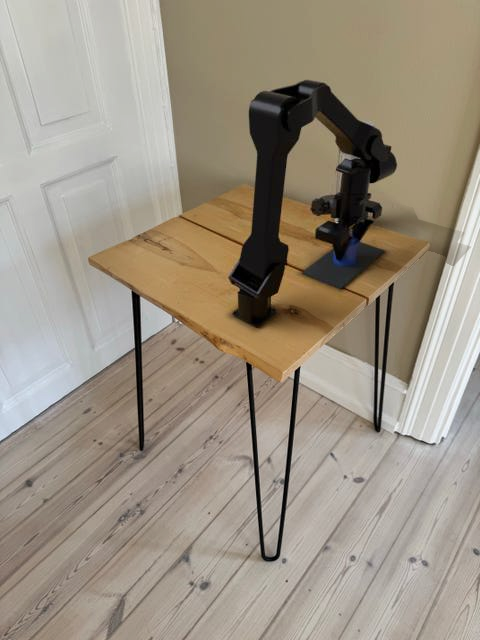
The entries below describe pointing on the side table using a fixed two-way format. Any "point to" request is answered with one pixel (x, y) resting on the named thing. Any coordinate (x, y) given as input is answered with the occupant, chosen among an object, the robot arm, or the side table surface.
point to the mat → (341, 275)
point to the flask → (348, 253)
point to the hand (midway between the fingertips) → (345, 255)
